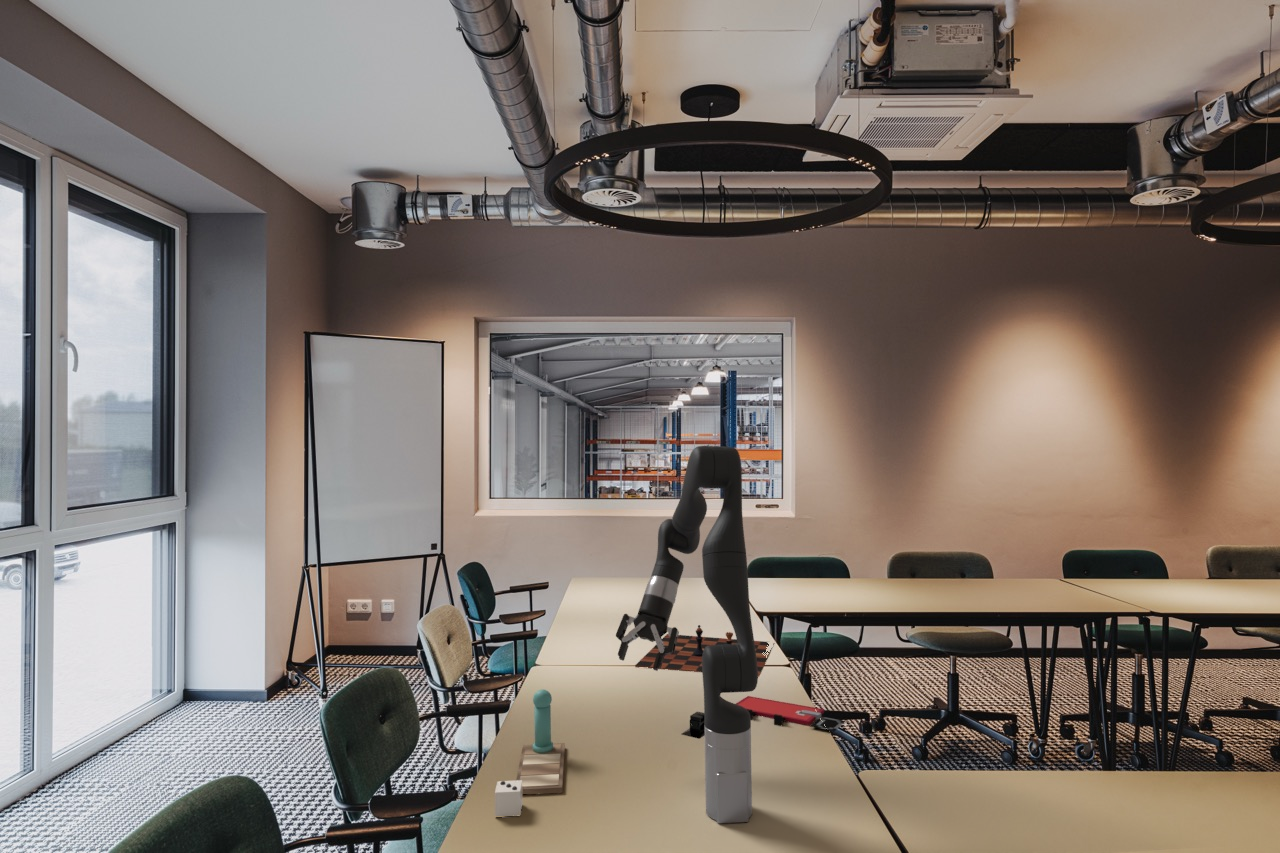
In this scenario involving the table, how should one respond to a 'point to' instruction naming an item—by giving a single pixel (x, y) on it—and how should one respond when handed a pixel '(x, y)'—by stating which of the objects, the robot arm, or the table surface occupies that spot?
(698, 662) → the chessboard
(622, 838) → the table surface
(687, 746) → the table surface
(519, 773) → the board
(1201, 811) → the table surface
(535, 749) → the pawn
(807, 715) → the red board with handle
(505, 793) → the die
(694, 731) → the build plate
